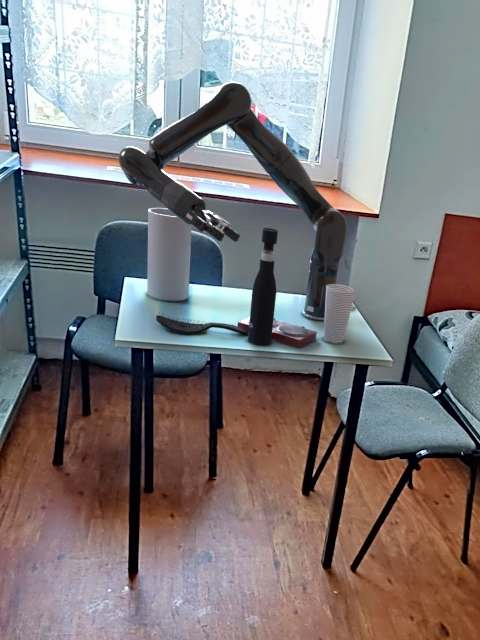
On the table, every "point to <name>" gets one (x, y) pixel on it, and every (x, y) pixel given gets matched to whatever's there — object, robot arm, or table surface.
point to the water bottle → (264, 294)
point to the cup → (337, 311)
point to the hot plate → (286, 333)
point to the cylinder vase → (168, 255)
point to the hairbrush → (194, 326)
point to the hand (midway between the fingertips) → (230, 238)
